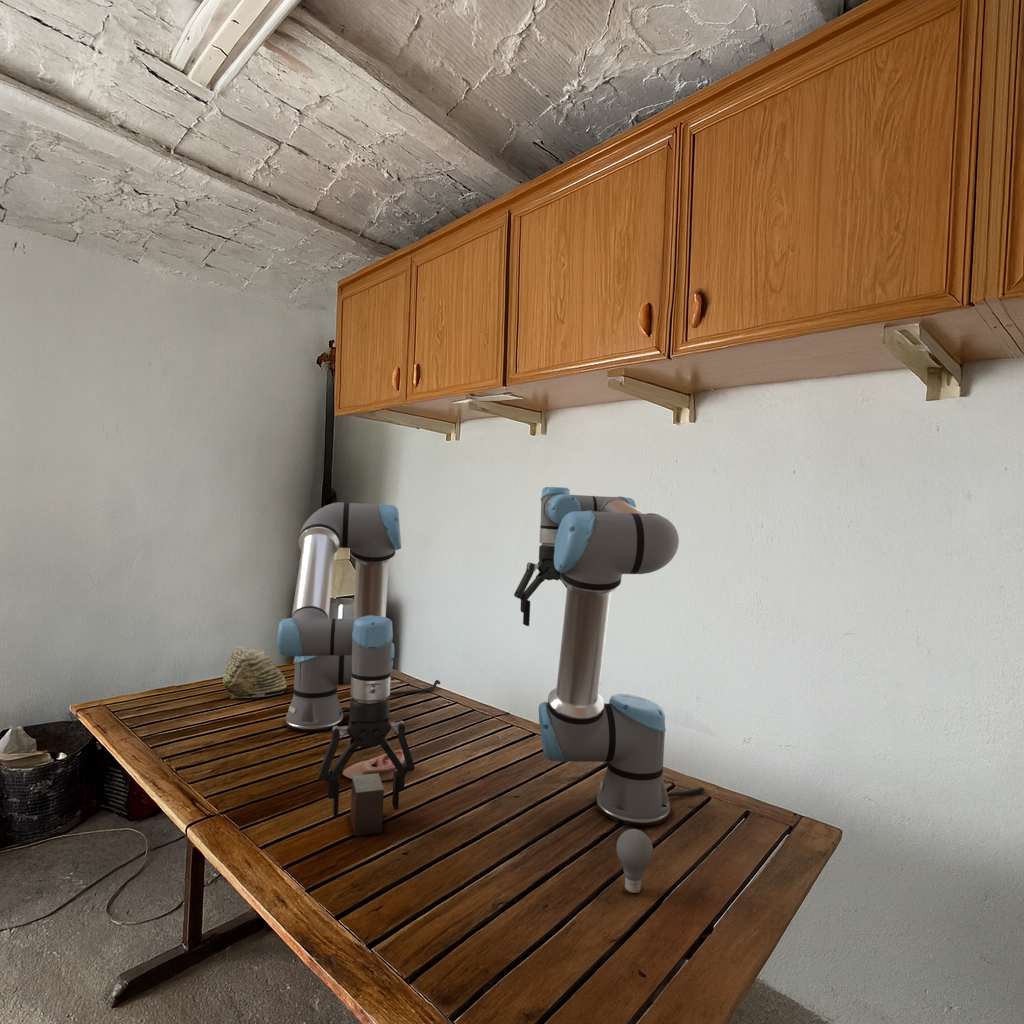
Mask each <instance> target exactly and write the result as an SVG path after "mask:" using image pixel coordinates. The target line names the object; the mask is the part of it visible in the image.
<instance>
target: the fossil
mask: <svg viewBox="0 0 1024 1024" xmlns="http://www.w3.org/2000/svg"><path fill="white" fill-rule="evenodd" d="M222 676H223V677H222V685H223V687H224V688H225V690H226V691H228V693H229V698H230V699H250V698H264V697H271V696H275V695H281V694H284V693H285V691H286V689H287V687H288V686H287V680H286V678H285V676H284V674H283V673H282V672H281V669H279V668H278V667H277V665H276V663H275V662H274V660H273V659H272V658H271V657H270V656H269V655H268V654H267V653H266V652H265V650H264V649H263V648H260V647H258V648H251V647H247V646H246V647H245V646H238V647H237V648H236V649H235V650H233V651H232V653H231V656H230V657H229V659H228V660H227V663H226V666H225V668H224V671H223V675H222Z"/></svg>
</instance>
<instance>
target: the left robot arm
mask: <svg viewBox="0 0 1024 1024" xmlns="http://www.w3.org/2000/svg"><path fill="white" fill-rule="evenodd" d="M302 525H303V526H302V528H301V529H300V532H299V536H298V547H299V550H300V551H301V552H300V558H299V566H298V573H297V578H296V586H295V593H294V599H293V605H292V612H291V617H289V618H282V619H281V620H280V621H279V623H278V628H277V652H278V653H279V654H280V655H281V656H285V657H294V660H293V663H294V674H293V675H294V680H293V695H292V696H293V697H292V699H291V702H290V704H289V707H288V711H287V713H286V715H285V726H286V728H287V729H289V730H291V731H294V732H295V731H296V732H301V733H316V732H325V731H329V730H331V739H330V741H329V743H328V746H327V749H326V752H325V754H324V757H323V759H322V762H321V764H320V767H319V769H318V779H319V781H322V782H323V781H325V782H327V797H328V799H329V800H330V799H332V815H333V818H339V803H340V802H339V801H340V800H339V799H340V779H339V776H340V774H341V773H342V772H343V771H344V768H345V767H346V766H347V764H348V763H349V761H350V759H351V758H352V756H353V755H354V753H356V752H357V750H358V748H361V749H363V748H368V747H375V748H376V747H378V746H381V748H382V750H383V751H384V753H385V754H387V755H388V757H389V758H390V760H391V762H392V763H393V765H394V766H395V768H396V769H397V771H394V773H393V779H392V797H391V799H392V800H391V804H392V807H393V810H394V811H397V810H399V804H400V801H399V800H400V791H404V790H405V783H406V776H407V773H409V772H413V771H414V770H415V769H416V767H415V764H414V760H413V757H412V755H411V750H410V748H409V745H408V741H407V738H406V725H405V723H404V721H403V720H402V719H398V720H397V721H390V706H391V705H390V704H391V700H390V696H400V695H408V694H409V695H410V694H419V693H425V692H430V691H433V690H434V689H435V688H436V687H437V685H441V681H440V680H439V679H436V680H435V681H434V683H433V684H432V686H433V687H432V686H430V687H427V688H426V687H425V688H420V689H419V688H417V689H409V690H400V691H399V690H398V691H391V677H392V676H391V675H392V671H393V668H394V667H393V666H394V658H395V643H394V642H393V639H394V632H393V621H392V620H391V618H389V617H387V601H388V583H389V567H390V561H391V560H393V558H395V556H396V551H398V550H401V549H402V537H401V525H400V513H399V509H398V508H397V506H395V505H394V504H393V505H392V504H384V503H381V502H380V503H361V502H360V503H358V502H342V501H341V502H339V501H337V502H332V503H330V504H327V505H324V506H322V507H321V508H319V509H317V510H316V511H315V512H313V514H312V515H310V516H309V518H307V520H306V521H305V522H304V523H303V524H302ZM339 549H350V551H349V553H350V556H351V557H352V558H353V559H354V560H355V571H354V572H355V575H354V578H355V579H354V596H353V597H354V598H353V599H354V601H353V602H354V603H353V618H330V607H331V596H332V585H333V573H334V563H335V554H336V553H337V552H338V550H339ZM338 686H350V698H351V699H350V701H349V706H341V702H340V699H339V695H338ZM343 711H344V712H345V711H349V720H348V723H347V725H343V726H340V725H342V723H343V722H344V714H343ZM391 730H393V733H394V734H395V735H396V736H397V739H398V742H399V745H400V748H401V750H402V752H403V755H404V758H405V760H404V763H403V765H402V763H401V762H400V760H399V759H398V757H397V756H396V754H395V752H394V751H395V750H394V749H393V748H392V746H391V745H390V743H389V742H388V740H387V738H386V737H387V735H388V734H389V733H390V731H391ZM346 733H347V735H348V736H349V737H350V739H349V740H348V742H347V745H346V746H345V747H344V749H343V750H342V752H341V753H340V755H339V757H338V758H337V760H336V761H335V762H334V764H333V766H332V763H333V761H334V757H335V755H336V753H337V749H338V748H339V743H340V740H341V739H343V738H344V735H345V734H346ZM331 766H332V767H331ZM330 768H331V769H330Z"/></svg>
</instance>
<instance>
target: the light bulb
mask: <svg viewBox="0 0 1024 1024" xmlns="http://www.w3.org/2000/svg"><path fill="white" fill-rule="evenodd" d="M615 849H616V854H617V857H618V859H619V861H620V863H621V865H622V867H623V873H624V874H623V875H624V876H625V878H624V888H625V890H627V891H628V892H630V893H634V894H635V893H639V892H640V891H641V889H642V887H641V886H642V879H643V877H644V875H645V871H646V868H647V867H648V866H649V864H650V863H651V861H652V859H653V855H654V847H653V843H652V841H651V838H649V836H648V835H647V834H646V833H645V832H643V831H642V830H641V829H636V828H629V829H627V830H625V831H623V832H622V833H621V834H620V835H619V837H618V839H617V841H616V847H615Z"/></svg>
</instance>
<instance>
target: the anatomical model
mask: <svg viewBox="0 0 1024 1024" xmlns="http://www.w3.org/2000/svg"><path fill="white" fill-rule="evenodd" d="M393 751H394V752H395V754H396V756H397V757H398V759H399V760H400V762H401V763H402V765H403V764H404V763H405V758H404V755H403V752H402V749H397V750H393ZM394 771H397V769H396V768H395V766H394V765H393V763H392V762H391V760H390V758H389V757H388V755H387V754H386V753H383V754H381V755H378V756H375V757H373V758H370V759H367V760H363V761H359V762H356V763H354V764H352V765H350V766H348V767H346V768H345V769H343V770H342V776H344V777H346V778H348V779H349V780H352V776H356V775H366V774H375V773H379V776H380V779H381V782H382V781H388V780H393V773H394Z"/></svg>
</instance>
